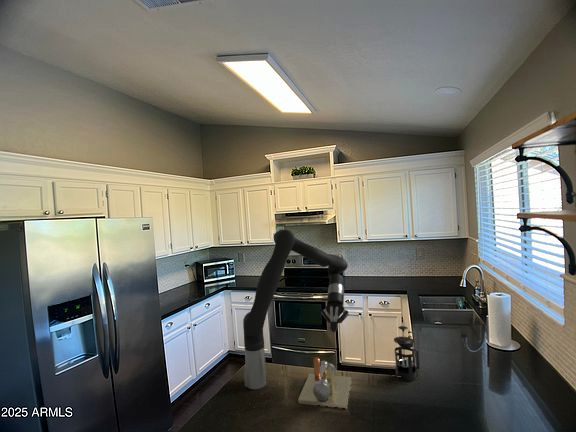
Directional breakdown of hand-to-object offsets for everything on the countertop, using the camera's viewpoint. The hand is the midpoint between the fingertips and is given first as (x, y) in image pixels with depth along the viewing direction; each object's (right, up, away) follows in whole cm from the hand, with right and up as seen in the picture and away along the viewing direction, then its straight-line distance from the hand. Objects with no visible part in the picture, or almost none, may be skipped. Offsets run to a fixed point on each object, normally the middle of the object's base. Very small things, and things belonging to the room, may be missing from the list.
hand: (333, 331), depth 130 cm
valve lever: (-6, -16, -5) cm, 17 cm away
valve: (-3, -28, +3) cm, 28 cm away
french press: (+36, -26, +12) cm, 46 cm away
